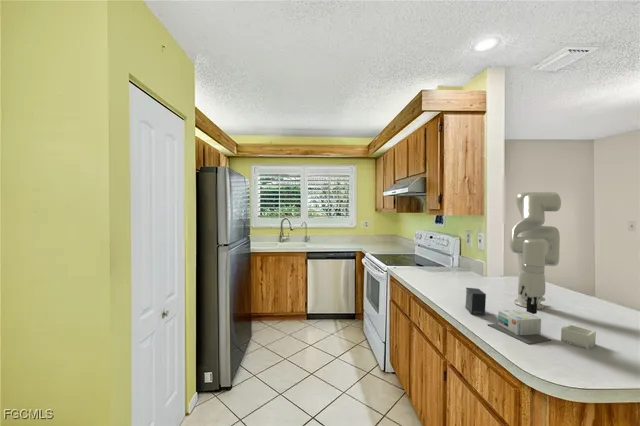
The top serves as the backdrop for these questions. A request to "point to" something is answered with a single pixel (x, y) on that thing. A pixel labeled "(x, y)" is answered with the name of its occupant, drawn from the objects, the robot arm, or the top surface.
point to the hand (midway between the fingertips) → (531, 312)
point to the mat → (524, 338)
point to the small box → (475, 301)
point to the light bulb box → (519, 322)
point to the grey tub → (578, 336)
